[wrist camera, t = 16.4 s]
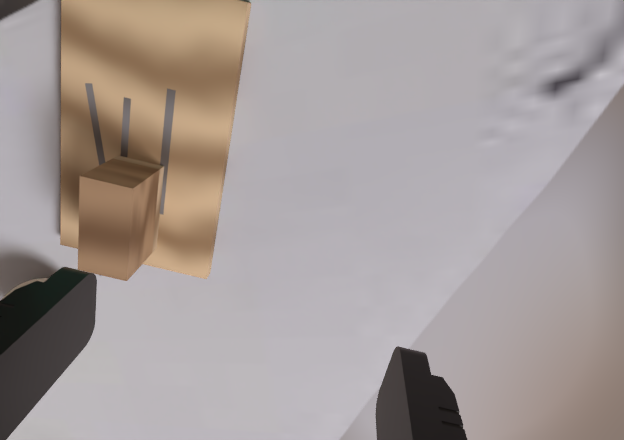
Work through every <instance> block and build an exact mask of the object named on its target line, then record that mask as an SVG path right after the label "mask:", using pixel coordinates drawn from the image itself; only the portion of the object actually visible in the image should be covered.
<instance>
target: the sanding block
mask: <svg viewBox="0 0 624 440" xmlns="http://www.w3.org/2000/svg"><path fill="white" fill-rule="evenodd" d="M163 175H164V166H161V165H157V164H153V163H148V162H144V161H140V160H136V159H132V158H127V157H123V156H119V155H118V156H116V157H114V158H113V159H111V160H109V161H107V162H105V163H103V164H101V165H99V166H98V167H96V168H94V169H92V170H90V171H88V172H86V173H84V174H82V175H81V176H80V183H79V236H78V270H82V271H86V272H90V273H95V274H99V275H103V276H107V277H112V278H116V279H120V280H124V281H127V280H128V279H129V278H130V277H131V276H132V275H133V274H134V273H135V271H136V270H137V269H138V268H139V267H140V266H141V265H142V264H143V263H144V261H145V260H146V259H147V258H148V257H149V256H150V255H151V254H152V253H153V252H154V250H155V249H156V248H157V238H158V227H159V217H160V206H161V196H162V185H163Z"/></svg>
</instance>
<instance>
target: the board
mask: <svg viewBox="0 0 624 440" xmlns="http://www.w3.org/2000/svg"><path fill="white" fill-rule="evenodd" d="M250 8H251V3H248V2H244V1H240V0H61V238H60V245H65V246H69V247H73V248H77V249H78V236H79V183H80V176H81V175H82V174H84V173H86V172H88V171H90V170H92V169H94V168H96V167H98V166H99V165H101V164H103V163H105V162H107V161H109V160H111V159H113V158H114V157H116V156H118V155H119V156H123V157H127V158H132V159H136V160H140V161H144V162H148V163H153V164H157V165H161V166H164V175H163V185H162V196H161V206H160V217H159V227H158V238H157V248H156V249H155V250H154V252H153V253H152V254H151V255H150V256H149V257H148V258H147V259H146V260H145V261H144V263H143V264H145V265H149V266H153V267H157V268H162V269H166V270H170V271H174V272H179V273H183V274H187V275H191V276H195V277H200V278H204V279H207V277H208V276H209V274H210V270H211V264H212V257H213V251H214V244H215V238H216V231H217V224H218V218H219V211H220V205H221V198H222V192H223V185H224V178H225V172H226V165H227V159H228V152H229V146H230V139H231V133H232V126H233V119H234V113H235V106H236V100H237V93H238V87H239V80H240V73H241V67H242V60H243V54H244V47H245V41H246V34H247V27H248V21H249V14H250Z"/></svg>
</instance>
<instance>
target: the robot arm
mask: <svg viewBox="0 0 624 440" xmlns="http://www.w3.org/2000/svg"><path fill="white" fill-rule="evenodd" d="M96 285H97V280H96V276H95V274H93V273H88V272H84V271H80V270H76V269H72V268H67V267H63V268H61V269H59V270H58V271H57V272H56V273H55V274H53V275H52V276H51V277H50V278H48V279H47V280H46V281H45V282H40V281H35V282H33V283H30V284H28V285H25V286H23V287H20V288H18V289H15V290H14V291H12V292H11V293H10V294H9V295H7V296H6V297H5V298H3V299H2V300H1V301H0V440H6V439H7V438H8V437H9V436H10V434H11V433H12V432H13V431H14V430H15V429H16V427H17V426H18V425H19V424H20V423H21V421H22V420H23V419H24V418H25V417H26V416H27V414H28V413H29V412H30V411H31V410H32V409H33V407H34V406H35V405H36V404H37V403H38V401H39V400H40V399H41V398H42V397H43V396H44V394H45V393H46V392H47V391H48V390H49V389H50V387H51V386H52V385H53V384H54V383H55V381H56V380H57V379H58V378H59V377H60V376H61V374H62V373H63V372H64V371H65V370H66V368H67V367H68V366H69V365H70V364H71V363H72V361H73V360H74V359H75V358H76V357H77V356H78V354H79V353H80V352H81V351H82V350H83V348H84V347H85V346H86V345H87V343H88V341H89V340H90V338H91V335H92V333H93V330H94V325H95V310H96ZM376 429H377V440H467V438H466V434H465V430H464V429H463V423H462V419H461V416H460V415H459V409H458V405H457V401H456V398H455V394H454V393H453V391H452V390H451V389H450V387H449V386H448V385H447V383H446V382H445V380H444V379H443V378H442V377H438V376H434V375H431V372H430V368H429V363H428V359H427V355H426V354H425V353H423V352H419V351H414V350H410V349H406V348H402V347H396V348H395V350H394V352H393V354H392V357H391V360H390V363H389V365H388V368H387V371H386V374H385V376H384V379H383V382H382V385H381V387H380V390H379V394H378V398H377V404H376Z"/></svg>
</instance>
